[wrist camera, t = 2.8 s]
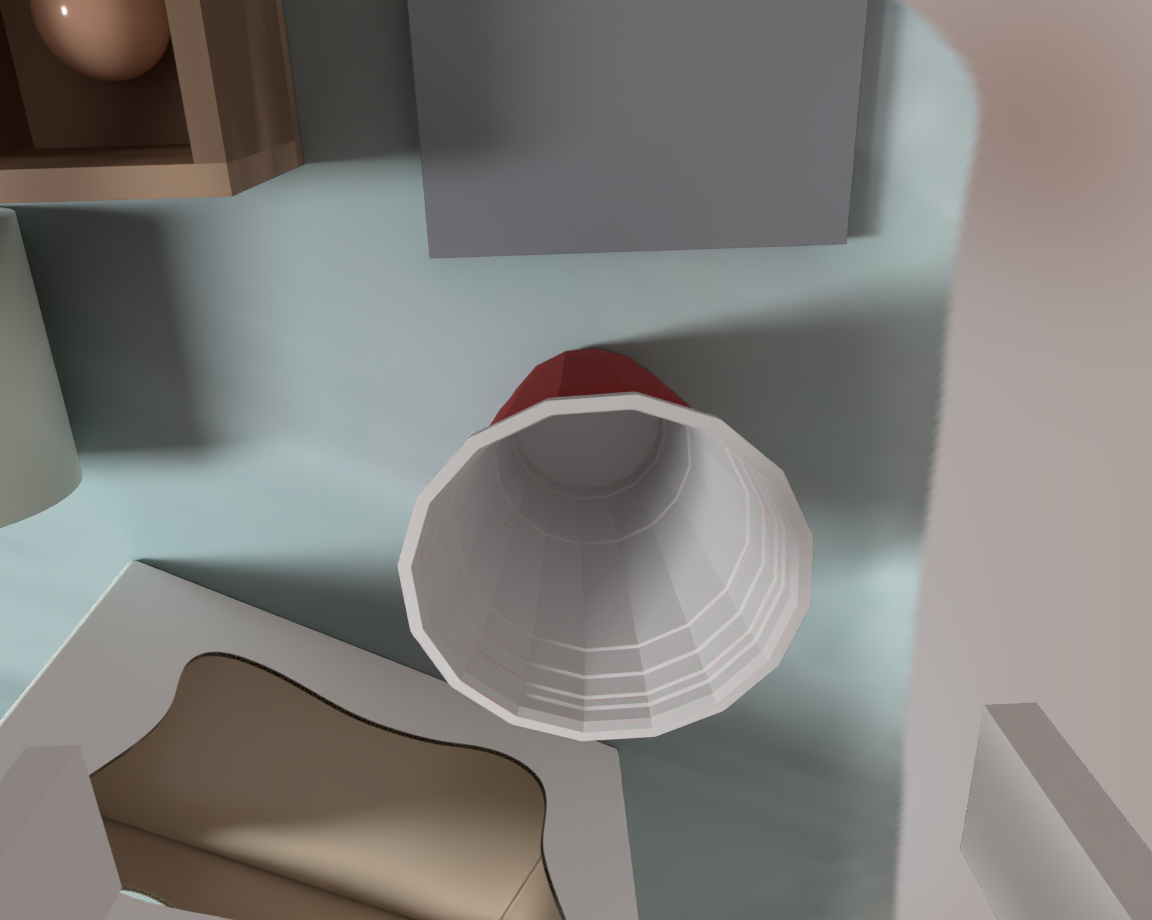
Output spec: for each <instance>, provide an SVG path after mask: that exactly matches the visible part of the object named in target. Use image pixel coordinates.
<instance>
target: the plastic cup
mask: <svg viewBox="0 0 1152 920" xmlns="http://www.w3.org/2000/svg"><path fill="white" fill-rule="evenodd" d="M813 539H814V536H813V534H812V532H811V530H810V528H809V526H808V524H807V521H806V519H805V517H804V515H803V513H802V511H801V508H800V506H799V504H798V502H797V500H796V498H795V495H794V493H793V491H792V489H791V487H790V485H789V482H788V480H787V478H786V476H785V474H784V472H783V470H782V469H780V468H779V467H778V466H777V465H775V464H774V463H773V462H772V461H771V460H769V459H768V458H767V457H766V456H765V455H763V454H762V453H761V452H760V451H758V450H757V449H756V448H755V447H754V446H752V445H751V444H750V443H749V442H748V441H746V440H745V439H744V438H743V437H741V436H740V435H739V434H738V433H737V432H735V431H734V430H733V429H732V428H731V427H729V426H728V425H727V424H726V423H725V422H723V421H722V420H721V419H719V418H718V417H717V416H715V415H712V414H708V413H705V412H702V411H698V410H695V409H692V408H691V407H690V406H689V405H688V404H687V403H686V402H685V401H684V400H683V399H682V398H680V397H679V396H678V395H677V394H676V393H675V392H674V391H672V390H671V389H670V388H669V387H668V386H666V385H665V384H664V383H663V382H662V381H660V380H659V379H658V378H657V377H655V376H654V375H653V374H652V373H651V372H649V371H648V370H647V369H646V368H642V367H641V366H640V365H638V364H637V363H636V362H635V361H634V360H632V359H631V358H629V357H626V356H623V355H619V354H616V353H613V352H609V351H606V350H603V349H599V348H597V349H586V350H575V351H565V352H563V353H561V354H559V355H557V356H555V357H553V358H551V359H549V360H547V361H546V362H544V363H542V364H540V365H538V366H536V367H535V368H534V369H533V370H532V372H531V373H530V374H529V375H528V376H527V377H526V379H525V380H524V381H523V382H522V383H521V384H520V386H519V387H518V388H517V389H516V390H515V392H514V393H513V395H512V397H511V398H510V399H509V400H508V401H507V402H506V404H505V405H504V406H503V407H502V408H501V409H500V411H499V412H498V414H497V415H496V417H495V418H494V420H493V422H492V423H491V425H490V426H489V427H487V428H485V429H483V430H480V431H478V432H476V433H474V434H473V435H472V436H470V437H469V438H468V439H467V441H466V442H465V443H464V444H463V445H462V446H461V447H460V448H459V450H458V451H457V452H456V453H455V454H454V455H453V456H452V457H451V459H450V460H449V461H448V462H447V463H446V464H445V465H444V466H443V468H442V469H441V470H440V471H439V472H438V473H437V474H436V475H435V477H434V478H433V479H432V480H431V481H430V482H429V483H428V484H427V486H426V487H425V488H424V489H423V490H422V491H421V492H420V494H419V495H418V496H417V497H416V500H415V504H414V507H413V511H412V515H411V518H410V522H409V525H408V529H407V532H406V536H405V539H404V543H403V547H402V550H401V554H400V557H399V561H398V564H397V567H398V572H399V577H400V582H401V587H402V592H403V597H404V602H405V607H406V612H407V617H408V622H409V627H410V632H411V633H412V634H413V636H414V637H415V638H416V640H417V641H418V642H419V644H420V645H421V647H422V648H423V649H424V651H425V652H426V653H427V655H428V656H429V657H430V659H431V660H432V661H433V663H434V664H435V666H436V667H437V668H438V670H439V671H440V672H441V674H442V675H443V676H444V678H445V679H446V681H447V682H448V683H449V685H450V686H451V687H453V688H454V689H456V690H457V691H459V692H460V693H462V694H464V695H465V696H467V697H468V698H470V699H472V700H473V701H475V702H476V703H478V704H480V705H481V706H483V707H484V708H486V709H487V710H489V711H491V712H492V713H494V714H495V715H497V716H499V717H500V718H502V719H503V720H505V721H507V722H508V723H510V724H512V725H517V726H521V727H525V728H529V729H533V730H537V731H541V732H545V733H550V734H554V735H558V736H562V737H566V738H570V739H574V740H578V741H594V740H611V739H627V738H643V737H656V736H659V735H661V734H664V733H667V732H669V731H672V730H675V729H677V728H680V727H682V726H685V725H688V724H690V723H693V722H696V721H698V720H701V719H703V718H706V717H709V716H711V715H714V714H717V713H719V712H722V711H724V710H725V709H727V708H728V707H729V706H730V705H731V704H733V703H734V702H735V701H736V700H737V699H739V698H740V697H741V696H742V695H743V694H745V693H746V692H747V691H748V690H749V689H751V688H752V687H753V686H754V685H755V684H757V683H758V682H759V681H760V680H761V679H763V678H764V677H765V676H766V675H767V674H769V673H770V672H771V671H772V670H773V669H775V668H776V667H777V666H778V665H779V663H780V661H781V660H782V658H783V656H784V654H785V652H786V650H787V648H788V646H789V645H790V643H791V641H792V639H793V637H794V635H795V633H796V632H797V630H798V628H799V626H800V624H801V622H802V620H803V618H804V617H805V615H806V613H807V611H808V609H809V607H810V605H811V586H812V563H813Z"/></svg>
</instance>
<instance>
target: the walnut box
mask: <svg viewBox="0 0 1152 920" xmlns="http://www.w3.org/2000/svg"><path fill="white" fill-rule="evenodd" d="M165 5H166V11H167V16H168V22H169V28H170V38H169V42H168V46H167V48H166V50H165V53H164V54H163V56H162V58H161V59H160V60H159V62H158V63H157V64H156V65H155V66H154V67H153V68H151V69H150V70H149V71H148V72H146V73H144V74H143V75H141V76H139V77H136V78H133V79H129V80H125V81H117V82H114V81H102V80H97V79H93V78H90V77H87V76H85V75H82V74H80V73H78V72H76V71H74V70H73V69H71V68H69V67H68V66H66V65H65V64H64V63H62V62H61V61H60V60H59V59H58V58H57V57H56V56H55V55H54V54H53V53H52V52H51V51H50V50H49V49H48V48H47V46H46V45H45V44H44V42H43V41H42V39H41V38H40V36H39V34H38V32H37V30H36V28H35V25H34V23H33V20H32V17H31V13H30V7H29V0H0V204H4V203H35V202H67V201H98V200H130V199H161V198H192V197H224V196H234V195H236V194H238V193H241V192H243V191H245V190H247V189H250V188H252V187H254V186H256V185H259V184H261V183H263V182H265V181H268V180H270V179H272V178H274V177H277V176H279V175H281V174H284V173H286V172H288V171H290V170H293V169H295V168H297V167H299V166H302V165H304V159H303V151H302V144H301V137H300V129H299V122H298V114H297V107H296V100H295V92H294V85H293V77H292V70H291V63H290V55H289V48H288V40H287V33H286V25H285V18H284V11H283V3H282V0H165Z"/></svg>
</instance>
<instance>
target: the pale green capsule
mask: <svg viewBox="0 0 1152 920" xmlns="http://www.w3.org/2000/svg"><path fill="white" fill-rule="evenodd" d="M81 480H82V470H81V466H80V462H79V458H78V454H77V450H76V446H75V443H74V439H73V435H72V431H71V427H70V423H69V419H68V415H67V411H66V408H65V404H64V400H63V396H62V392H61V388H60V384H59V380H58V376H57V373H56V369H55V365H54V361H53V357H52V353H51V349H50V345H49V341H48V338H47V334H46V330H45V326H44V322H43V318H42V314H41V310H40V306H39V303H38V299H37V295H36V291H35V287H34V283H33V279H32V275H31V271H30V268H29V264H28V260H27V256H26V252H25V248H24V244H23V240H22V236H21V233H20V229H19V225H18V221H17V217H16V213H15V211H14V210H12V209H9V208H2V207H0V528H2V527H5V526H7V525H10V524H13V523H16V522H19V521H21V520H24V519H26V518H29V517H31V516H34V515H36V514H38V513H40V512H42V511H44V510H46V509H48V508H50V507H52V506H54V505H55V504H57V503H59V502H60V501H62V500H63V499H65V498H66V497H67V496H69V495H70V494H71V493H72V492H73V491H74V490H75V489H76V488H77V487H78V486H79V484H80V482H81Z"/></svg>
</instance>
